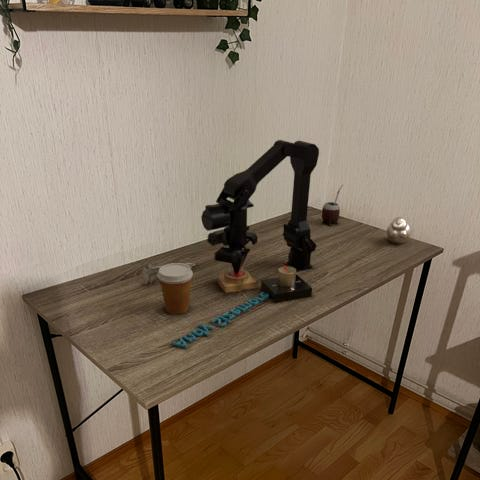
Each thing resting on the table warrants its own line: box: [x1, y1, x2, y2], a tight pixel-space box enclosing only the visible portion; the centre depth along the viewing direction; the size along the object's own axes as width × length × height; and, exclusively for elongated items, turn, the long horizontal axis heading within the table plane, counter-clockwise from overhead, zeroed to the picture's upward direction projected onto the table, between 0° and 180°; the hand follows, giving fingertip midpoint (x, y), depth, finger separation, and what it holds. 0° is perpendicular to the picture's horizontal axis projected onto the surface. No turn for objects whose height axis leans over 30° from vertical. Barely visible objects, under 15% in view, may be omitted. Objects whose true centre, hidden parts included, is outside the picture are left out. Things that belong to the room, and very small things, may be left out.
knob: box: [277, 265, 297, 288], centre depth 145 cm, size 5×5×5 cm
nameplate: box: [170, 291, 269, 349], centre depth 133 cm, size 37×1×5 cm
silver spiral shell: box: [386, 216, 413, 244], centre depth 181 cm, size 9×10×10 cm
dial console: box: [260, 273, 313, 304], centre depth 147 cm, size 12×10×3 cm
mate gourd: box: [321, 183, 344, 227], centre depth 198 cm, size 8×8×15 cm
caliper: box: [142, 262, 197, 285], centre depth 156 cm, size 20×1×6 cm, turn 136°
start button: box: [229, 270, 244, 277], centre depth 150 cm, size 4×4×2 cm
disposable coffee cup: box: [156, 262, 194, 315], centre depth 135 cm, size 10×10×12 cm
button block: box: [216, 268, 257, 294], centre depth 151 cm, size 10×8×4 cm
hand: (236, 272), depth 150 cm, fingers closed, pressing on start button
